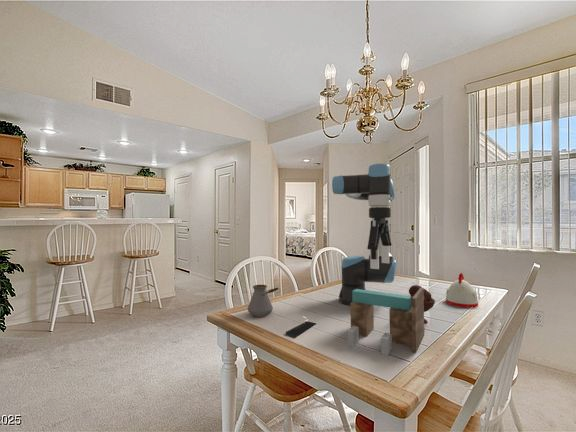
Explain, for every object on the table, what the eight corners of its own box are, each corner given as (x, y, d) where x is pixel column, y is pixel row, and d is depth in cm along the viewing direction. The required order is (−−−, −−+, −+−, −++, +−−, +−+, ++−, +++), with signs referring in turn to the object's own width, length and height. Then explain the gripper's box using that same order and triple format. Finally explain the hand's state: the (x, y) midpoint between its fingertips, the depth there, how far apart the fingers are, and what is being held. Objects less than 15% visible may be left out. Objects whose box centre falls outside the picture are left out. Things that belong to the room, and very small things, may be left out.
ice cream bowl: (423, 328, 112) (423, 289, 112) (400, 319, 122) (400, 284, 122) (441, 323, 117) (440, 286, 117) (417, 315, 127) (417, 281, 127)
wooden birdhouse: (386, 349, 95) (386, 294, 95) (398, 332, 108) (397, 284, 108) (416, 356, 90) (415, 298, 90) (424, 338, 103) (423, 287, 103)
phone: (323, 325, 115) (301, 337, 103) (323, 328, 115) (301, 340, 103) (306, 321, 120) (284, 332, 108) (306, 323, 120) (284, 335, 108)
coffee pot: (243, 313, 132) (242, 280, 132) (264, 308, 139) (264, 277, 139) (266, 327, 115) (266, 290, 115) (290, 321, 121) (290, 286, 122)
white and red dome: (442, 303, 144) (442, 273, 144) (449, 298, 154) (449, 269, 154) (475, 309, 134) (475, 277, 134) (480, 302, 145) (479, 273, 145)
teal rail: (352, 315, 108) (352, 291, 108) (356, 311, 111) (356, 288, 111) (409, 325, 97) (409, 299, 97) (412, 321, 100) (411, 295, 100)
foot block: (350, 335, 106) (350, 303, 106) (358, 328, 113) (358, 297, 113) (366, 339, 103) (366, 305, 103) (373, 331, 109) (373, 300, 110)
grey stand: (347, 348, 96) (347, 330, 96) (353, 343, 100) (352, 325, 100) (387, 358, 89) (387, 339, 89) (391, 352, 93) (391, 333, 93)
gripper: (380, 205, 92) (381, 272, 92) (398, 207, 113) (399, 261, 113) (357, 206, 96) (358, 270, 96) (379, 207, 117) (379, 260, 117)
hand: (380, 265), depth 104 cm, fingers open, 13 cm apart
